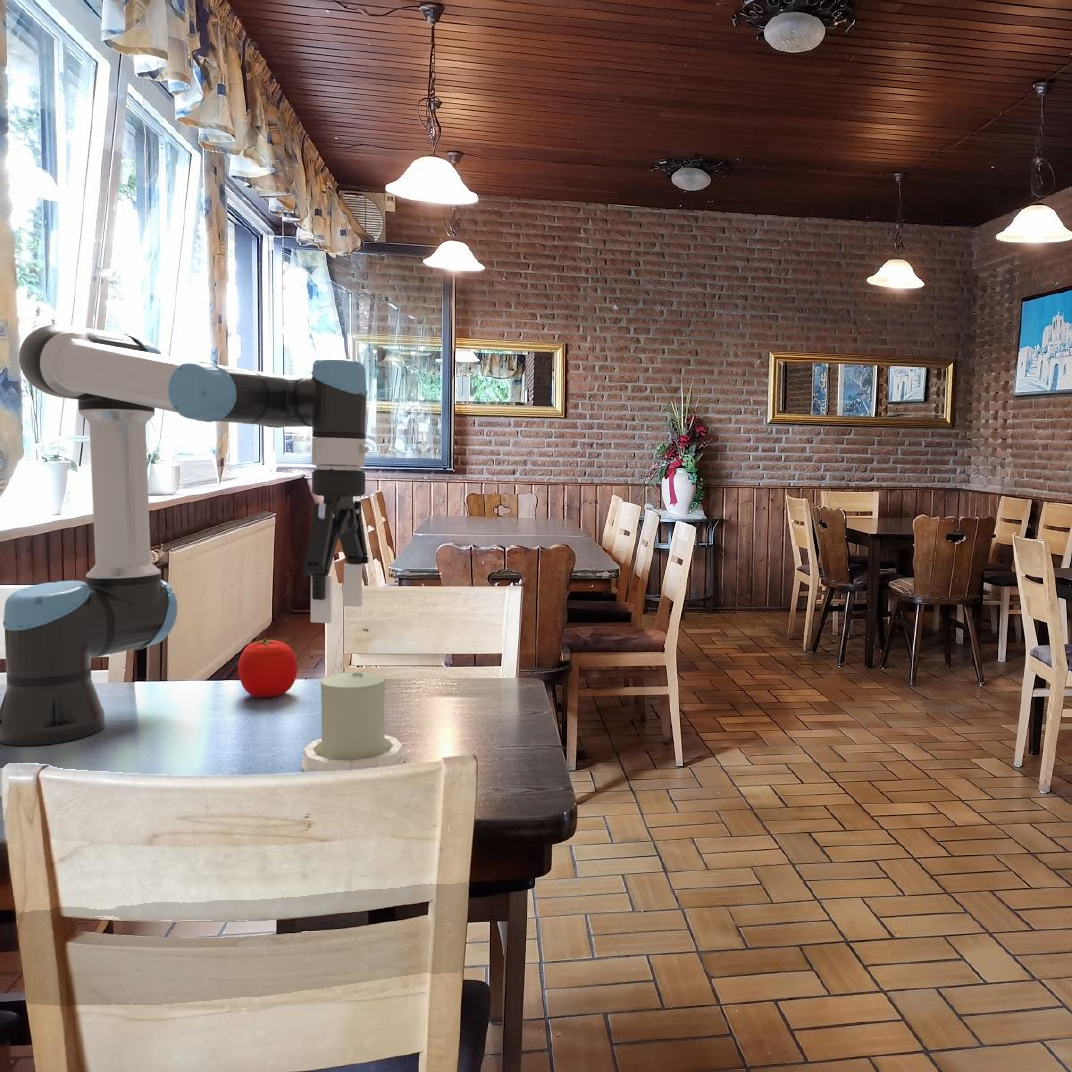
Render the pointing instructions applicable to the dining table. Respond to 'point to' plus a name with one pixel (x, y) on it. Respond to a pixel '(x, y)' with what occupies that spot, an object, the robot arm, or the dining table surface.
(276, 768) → the dining table surface
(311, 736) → the dining table surface
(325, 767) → the saucer
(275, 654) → the tomato
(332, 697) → the can
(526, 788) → the dining table surface
